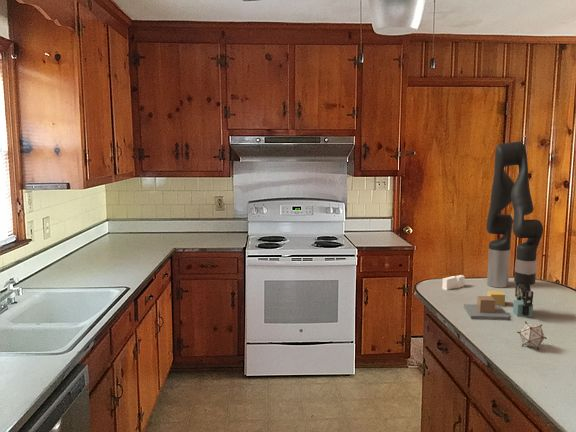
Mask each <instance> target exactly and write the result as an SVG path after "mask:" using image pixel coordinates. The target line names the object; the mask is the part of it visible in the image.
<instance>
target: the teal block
mask: <svg viewBox="0 0 576 432" xmlns="http://www.w3.org/2000/svg"><path fill="white" fill-rule="evenodd" d="M527 303H528V301H527ZM512 310H513V311H512V312H513V314H515V316H516V317H518V318H519V317H520V318H523V317H524V318H533V312H534V304H533V303H532V306H529V315H528V316H524V315H523V314H522V312H523V301H522V300H517V299H514V300H513V309H512Z"/></svg>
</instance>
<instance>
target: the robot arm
mask: <svg viewBox="0 0 576 432" xmlns="http://www.w3.org/2000/svg"><path fill="white" fill-rule="evenodd" d="M511 166H518V174H517V176H516V180H515V182H514V180H513V179H512V178H511V176H510V175H509V174H508V173H507V172H506V170H505V167H511ZM528 166H529V165H528V154H527V149H526V145H525V144H524V142H522V141H512V142H504V143H499V144H498V145H497V146H496V147H495V151H494V172H493V178H492V179H493V180H492V185H491V192H490V193H491V194H490V203H489V204H490V205H489V210H488V214H487V219H486V224H485V225H486V226H485V227H486V231H487V233H488V234H491V235H502V236H501V237H499V238H497V239H494V240H491V241H490V242H489V243H488V253H487V254H488V257H487V274H486V275H487V276H486V277H487V278H486V284H487V286H490V287H494V288H507V287H509V278H510V277H509V276H510V264H511V261H510V258H511V243H512V242H511V240H512V233H513V234H514V236H515V237H516V238H517V239H527V240H526V241H525V242H522V243H519V244H518V245H516V254H515V256H516V257H515V263H514V276H513V277H514V278H513V281H514V283H515V290H514V291H515V292H514V293H515V294H514V296H515V297H516V300H522V301H523V312H522V314H523V315H524V316H528V315H529V306H532V304H533V301H534V291H532V288H531V286H532V285H535V284H536V280H537V279H536V277H537V250H538V247H539V245H540V242H541V239H542V236H543V233H544V226H543V223H542V222H541V221H540V220H539V219H525V216H528V215H530V214H533V213H534V204H533V200H532V194H531V190H530V189H531V188H530V179H529V177H530V176H529V167H528ZM511 203H512V208H513V216H512V215H511V214H504V213H501V211H503V210H505V208H506V207H508V206H509V205H510V204H511ZM527 301H528V303H527Z"/></svg>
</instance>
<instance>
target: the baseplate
mask: <svg viewBox="0 0 576 432" xmlns="http://www.w3.org/2000/svg"><path fill="white" fill-rule="evenodd" d="M476 298H477V299H476V303H473V304H472V303H471V304H470V303H469V304H467V303H463V308H464V310H465V311H466V313H467V314H468V317H469V318H470V319H471V320H492V321H493V320H497V321H500V320H501V321H510V316H509V315H508V313H507V312H506V311H505V310H504V309H503V308H502V306H500V305H495V299H494V298H493V297H492V296H488V295H477V296H476Z"/></svg>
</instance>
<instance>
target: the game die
mask: <svg viewBox="0 0 576 432" xmlns="http://www.w3.org/2000/svg"><path fill="white" fill-rule="evenodd" d="M524 323H525V324H524V326H523V327H522V328H521V329H520V331H516V333H517V334H519V336H520V339H521V342H522V344H521V347H524V346H528V347H534V348H536V349H537V350H538V351H539V350H540V348H539V346H541V344H542V342H543V341H544V340H548V338H547V337H546V336H545V335H544V332H543V329H542V327H543V323H541V324H540V325H538V324H531V323H528V322H527V321H526V320H525V321H524Z"/></svg>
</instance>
